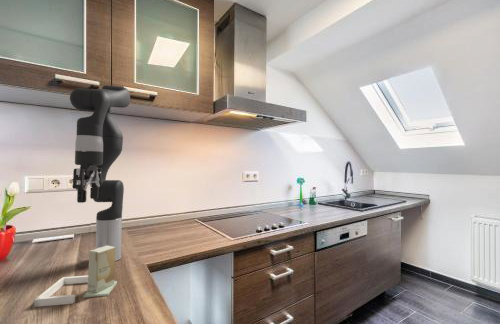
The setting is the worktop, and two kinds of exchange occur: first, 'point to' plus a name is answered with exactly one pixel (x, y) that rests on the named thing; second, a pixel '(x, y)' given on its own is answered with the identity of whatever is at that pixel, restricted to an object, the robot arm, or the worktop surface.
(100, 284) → the skincare box
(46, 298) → the white frame
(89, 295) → the pad
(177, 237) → the worktop surface
